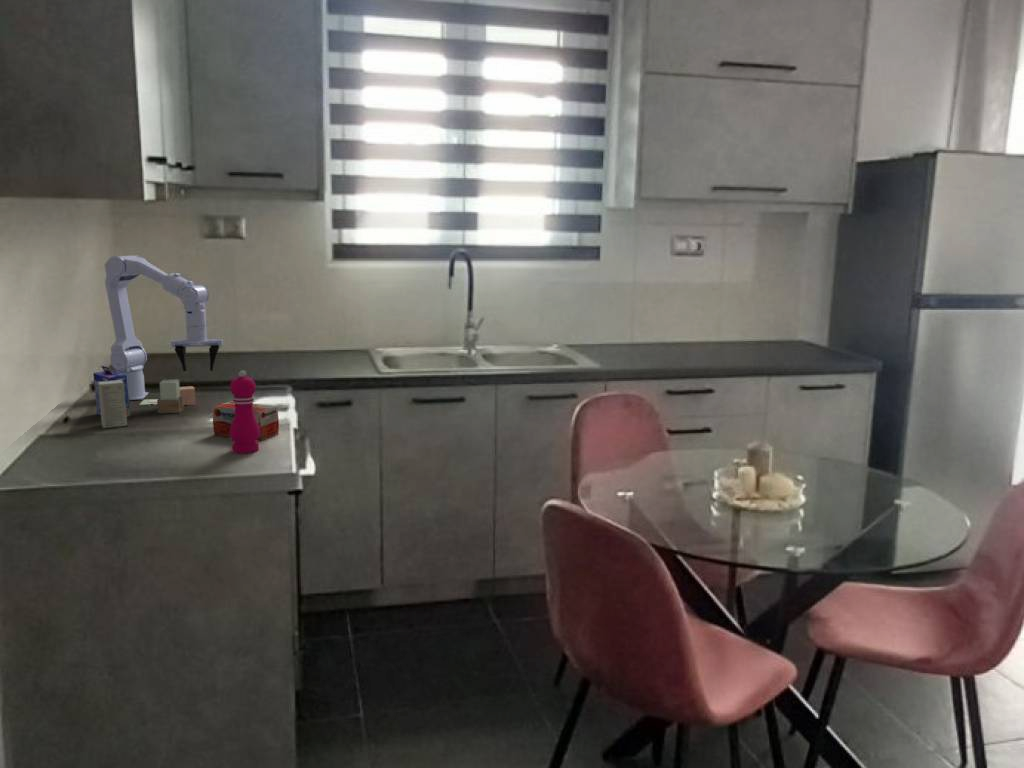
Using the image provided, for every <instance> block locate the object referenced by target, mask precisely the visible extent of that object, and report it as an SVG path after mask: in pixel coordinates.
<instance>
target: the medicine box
mask: <svg viewBox="0 0 1024 768" xmlns="http://www.w3.org/2000/svg"><path fill="white" fill-rule="evenodd" d="M252 408H253V414H254V417H255V419H256V421H257V423H258V425H259V428H260V436H259V438H258V439H257V440H259V441H258V442H260V441H264V440H266V439H267V438H269V436H271V437H274V436H276V435H275V434H277V435H279V431H280V430H279V427H280V425H279V424H280V421H279V410H278V406H277V405H269V404H261V403H253V405H252ZM234 415H235V403H233V400H232V401H228V402H224V403H220V404H217V405H214V406H212V425H213V433H214V434H213V435H214V436H218V435H219V436H220V437H227V438H230V427H231V424H232V422H233V419H234ZM273 435H274V436H273ZM219 436H218V437H219ZM265 438H266V439H265ZM263 439H264V440H263ZM257 440H256V441H257Z"/></svg>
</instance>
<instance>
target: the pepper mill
mask: <svg viewBox="0 0 1024 768" xmlns="http://www.w3.org/2000/svg"><path fill="white" fill-rule="evenodd" d="M256 389H257V385H256V382H255V381H254V379H252V377H249V376H247V371H245V370H244V369H243V370H240V371H239V372H238V377H236V378H234V379H233V380H231V382H230V385H229V390H230V392H231V394H232V395H233V397H232V399H233V400H232V401H233V403H235V415H234V419H233V422H232V424H231V427H230V437H229V438H230V439H231V440H232V441H233V443H232V444H231V447H232V450H231V451H232V453H236V454H241V453H245V454H250V453H249V452H253V453H255V452H254V451H256V452H258V451H259V449H260V446H259V445H260V444H259V441H257V439H258V438H259V436H260V428H259V425H258V423H257V421H256V419H255V417H254V414H253V408H252V405H253V404H254V402H255V400H254V399H255V396H254V394H255V393H256ZM257 450H258V451H257Z"/></svg>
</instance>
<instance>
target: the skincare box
mask: <svg viewBox="0 0 1024 768" xmlns="http://www.w3.org/2000/svg"><path fill="white" fill-rule="evenodd" d="M98 389H99V400H100V410H101V415H100V421H101V427H102V428H103V429H106V428H107V429H108V428H116V427H124V426H126V427H127V426H128V417H127V416H126V405H125V393H124V382H123V381H122V380H113V381H102V382H98Z"/></svg>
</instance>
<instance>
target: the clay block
mask: <svg viewBox="0 0 1024 768" xmlns="http://www.w3.org/2000/svg"><path fill="white" fill-rule="evenodd" d="M179 388H180V396H184V405H186V406H196V403H197V402H196V401H197V400H196V388H195V387H194V386H192V385H191V386H190V385H189V386H179Z"/></svg>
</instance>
